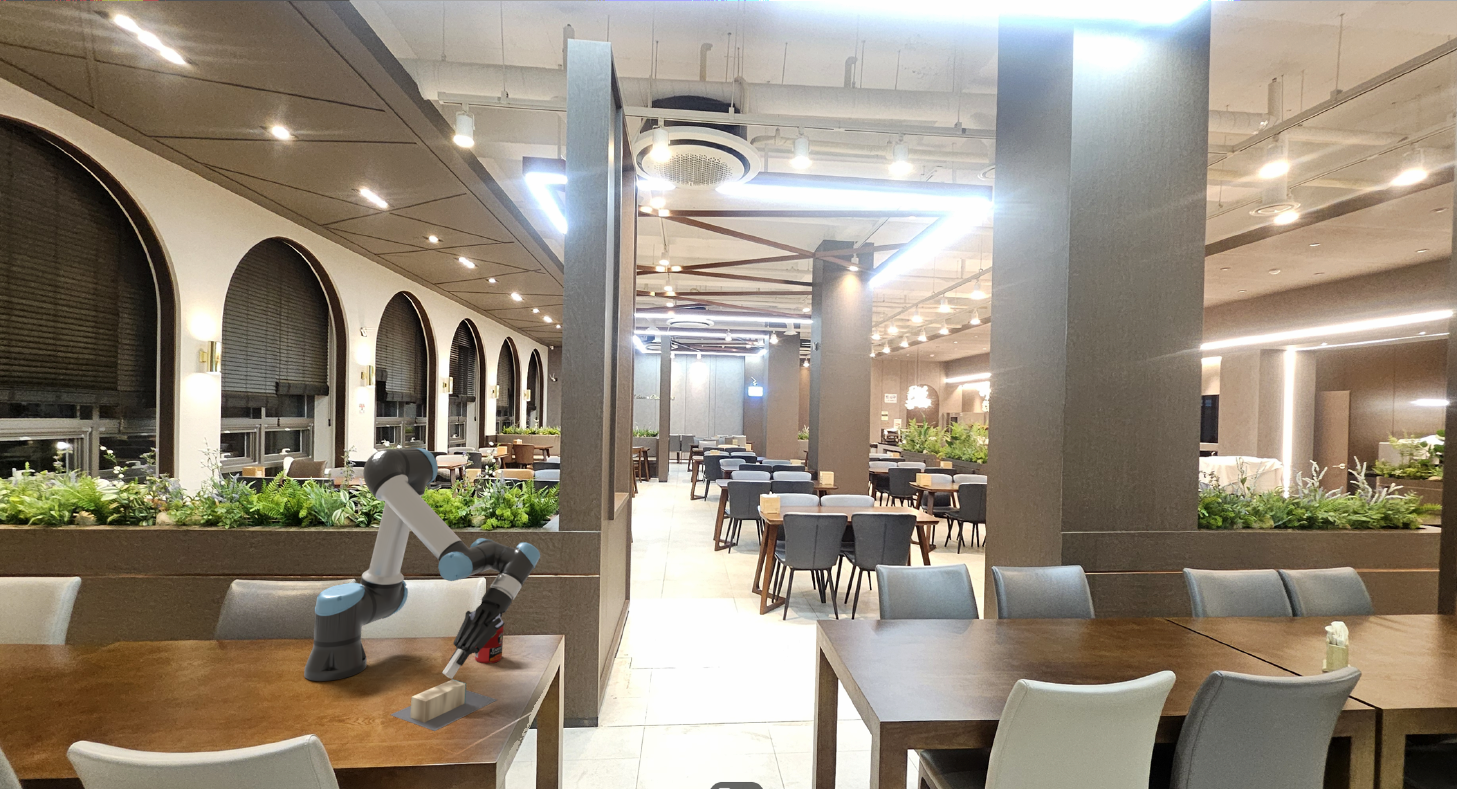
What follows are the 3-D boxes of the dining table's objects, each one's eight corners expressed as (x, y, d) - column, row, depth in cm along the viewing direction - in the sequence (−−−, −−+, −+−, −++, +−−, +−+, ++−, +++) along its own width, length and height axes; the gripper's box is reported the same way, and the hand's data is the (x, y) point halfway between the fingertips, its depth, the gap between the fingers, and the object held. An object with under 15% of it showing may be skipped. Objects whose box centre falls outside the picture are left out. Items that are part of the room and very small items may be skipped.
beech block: (451, 698, 162) (410, 717, 151) (452, 679, 162) (411, 696, 152) (465, 702, 160) (424, 722, 149) (466, 683, 160) (425, 701, 149)
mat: (389, 716, 152) (390, 714, 152) (454, 687, 169) (454, 686, 169) (434, 732, 145) (434, 730, 145) (497, 701, 162) (497, 699, 162)
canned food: (493, 665, 185) (494, 628, 186) (469, 662, 187) (470, 625, 188) (507, 656, 193) (508, 620, 193) (483, 653, 195) (485, 618, 195)
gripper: (477, 583, 174) (421, 663, 159) (511, 590, 168) (456, 674, 153) (491, 597, 179) (438, 677, 163) (525, 605, 173) (473, 688, 157)
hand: (447, 675), depth 158 cm, fingers closed
